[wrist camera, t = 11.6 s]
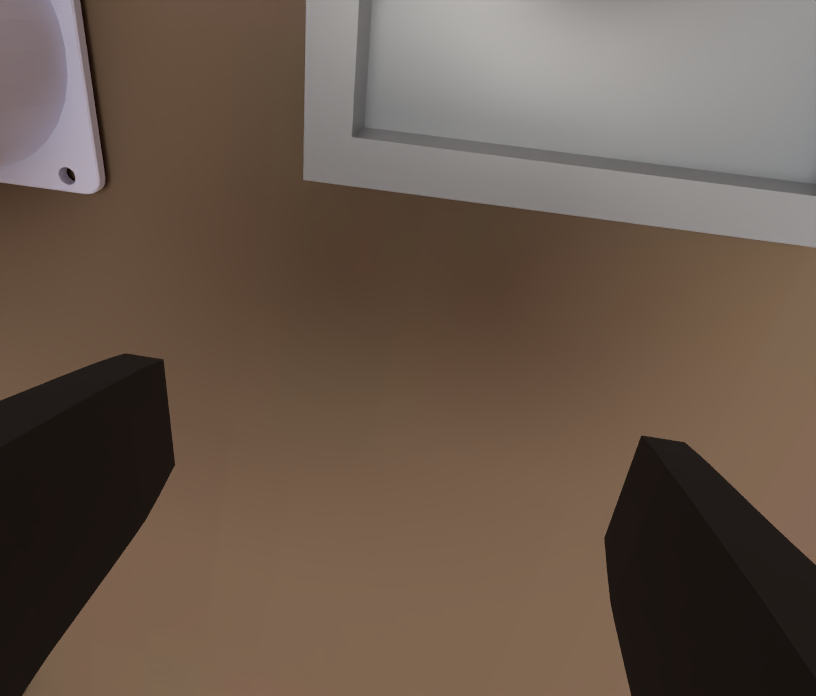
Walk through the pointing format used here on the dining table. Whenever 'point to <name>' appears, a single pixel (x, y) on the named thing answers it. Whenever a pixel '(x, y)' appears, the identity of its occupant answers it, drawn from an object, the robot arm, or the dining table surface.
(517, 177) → the tray
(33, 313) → the dining table surface
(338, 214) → the dining table surface
